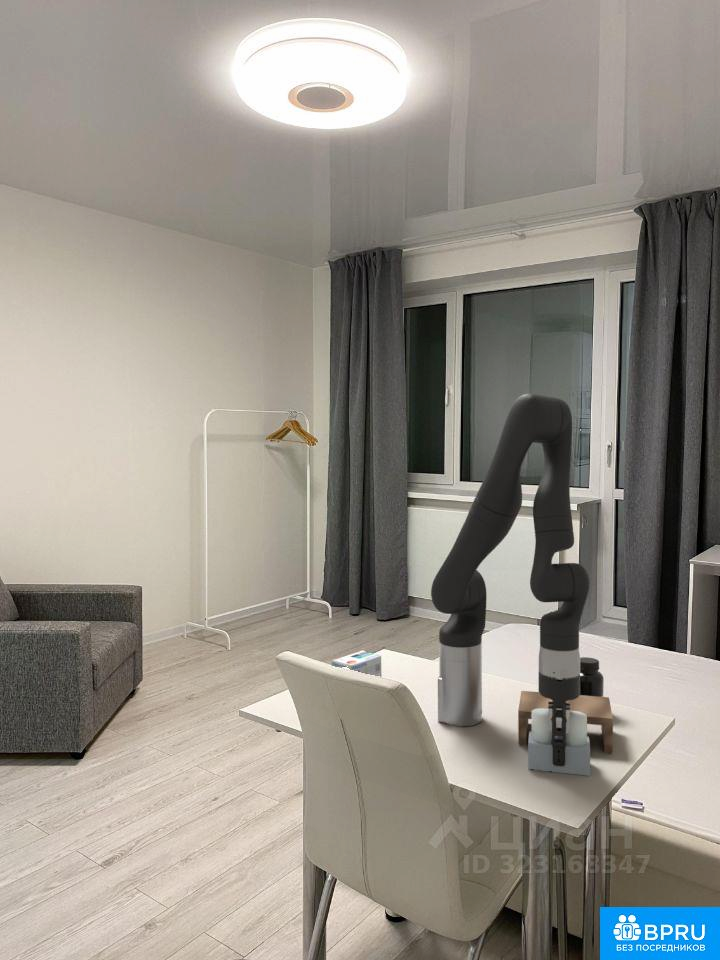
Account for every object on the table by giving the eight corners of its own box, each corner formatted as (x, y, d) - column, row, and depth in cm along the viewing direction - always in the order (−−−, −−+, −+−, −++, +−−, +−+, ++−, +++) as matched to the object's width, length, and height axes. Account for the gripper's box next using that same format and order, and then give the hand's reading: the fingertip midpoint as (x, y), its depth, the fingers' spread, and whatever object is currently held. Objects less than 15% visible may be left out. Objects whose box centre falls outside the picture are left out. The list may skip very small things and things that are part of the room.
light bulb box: (362, 692, 179) (362, 649, 179) (383, 699, 175) (382, 654, 174) (331, 704, 172) (330, 659, 171) (351, 711, 167) (351, 665, 166)
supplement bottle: (605, 719, 160) (605, 665, 160) (572, 717, 162) (572, 664, 161) (601, 708, 167) (601, 656, 166) (570, 706, 168) (570, 654, 168)
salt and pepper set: (528, 769, 137) (528, 716, 136) (529, 756, 142) (529, 706, 142) (590, 775, 134) (590, 722, 133) (588, 762, 139) (589, 711, 139)
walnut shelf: (518, 744, 148) (518, 710, 147) (521, 722, 159) (521, 690, 159) (612, 753, 143) (612, 718, 143) (608, 729, 155) (608, 697, 154)
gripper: (539, 657, 145) (539, 740, 146) (537, 680, 131) (537, 773, 132) (579, 659, 143) (578, 744, 144) (581, 684, 129) (580, 777, 130)
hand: (558, 757), depth 138 cm, fingers closed on salt and pepper set, 5 cm apart
